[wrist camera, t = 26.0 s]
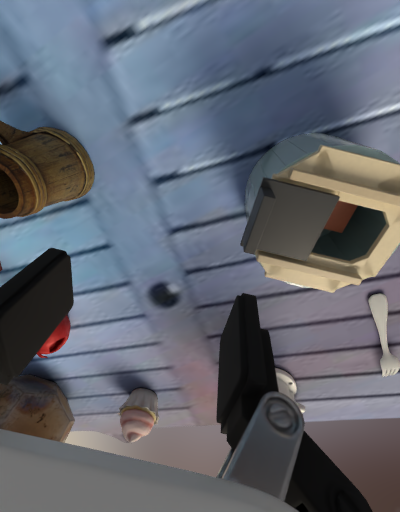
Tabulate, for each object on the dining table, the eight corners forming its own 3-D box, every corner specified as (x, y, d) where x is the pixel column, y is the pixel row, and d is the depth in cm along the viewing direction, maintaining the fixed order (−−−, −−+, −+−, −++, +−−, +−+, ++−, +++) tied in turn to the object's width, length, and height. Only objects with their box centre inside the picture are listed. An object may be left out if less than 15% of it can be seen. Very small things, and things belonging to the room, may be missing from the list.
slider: (338, 195, 21) (352, 207, 19) (305, 259, 25) (313, 276, 22) (262, 176, 21) (267, 186, 19) (240, 243, 25) (241, 258, 22)
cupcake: (162, 385, 57) (150, 434, 49) (165, 407, 62) (154, 456, 54) (122, 381, 58) (104, 428, 50) (128, 403, 63) (112, 450, 55)
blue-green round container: (388, 150, 29) (455, 169, 20) (328, 254, 36) (359, 300, 28) (266, 119, 29) (282, 125, 20) (231, 231, 36) (232, 270, 28)
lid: (442, 175, 21) (456, 179, 19) (356, 295, 28) (362, 304, 26) (286, 135, 20) (290, 138, 19) (239, 267, 27) (239, 275, 26)
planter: (55, 423, 73) (-13, 546, 52) (-23, 377, 64) (-140, 503, 44) (104, 403, 64) (46, 541, 44) (23, 347, 56) (-97, 486, 35)
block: (310, 176, 31) (323, 188, 26) (343, 184, 31) (362, 198, 26) (295, 208, 33) (306, 224, 28) (327, 216, 33) (342, 233, 28)
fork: (378, 283, 40) (387, 293, 38) (395, 374, 47) (404, 387, 45) (359, 288, 41) (366, 297, 39) (378, 376, 48) (386, 389, 46)
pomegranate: (15, 303, 49) (-27, 342, 41) (55, 291, 46) (19, 331, 38) (48, 338, 53) (15, 379, 45) (86, 329, 50) (59, 371, 42)
